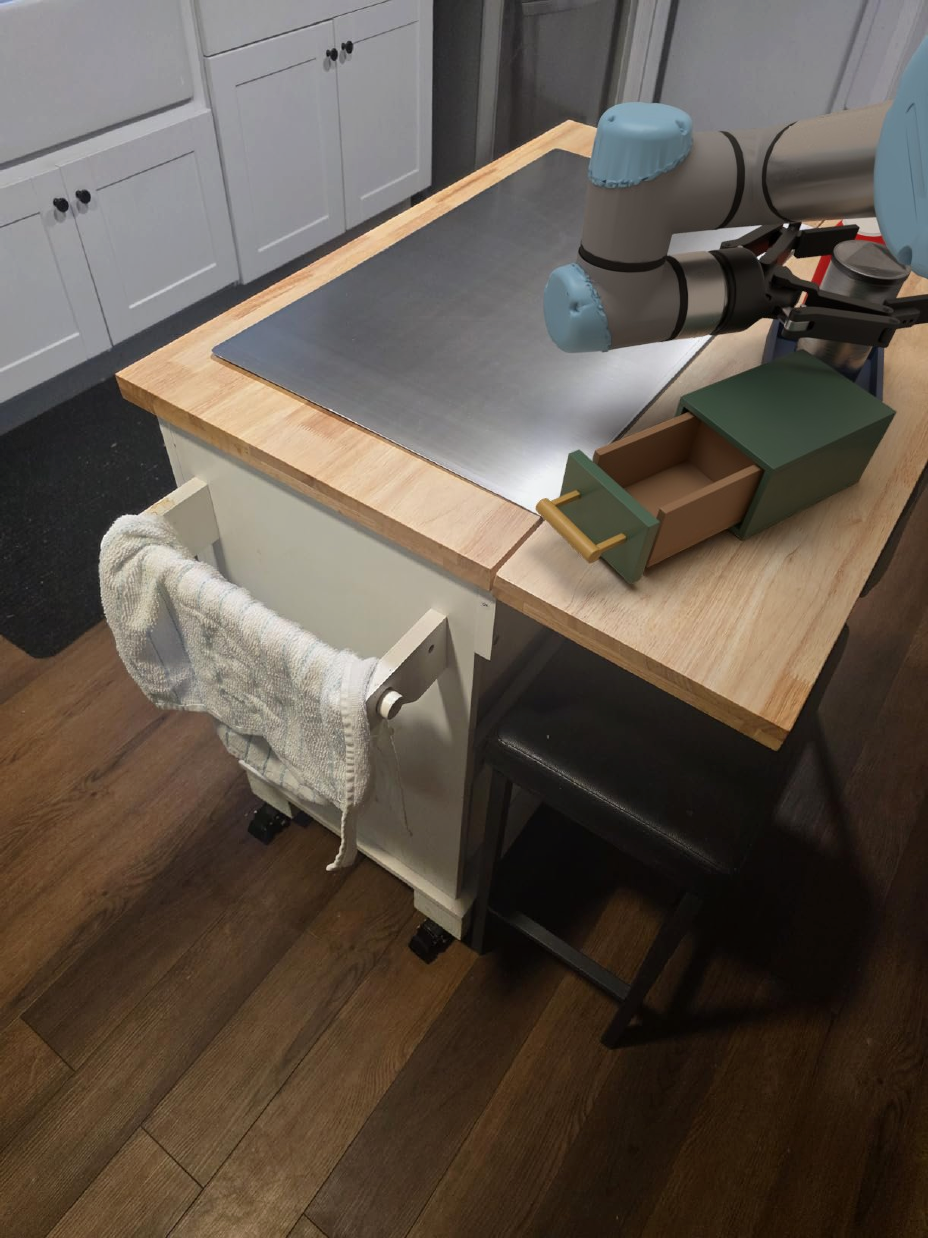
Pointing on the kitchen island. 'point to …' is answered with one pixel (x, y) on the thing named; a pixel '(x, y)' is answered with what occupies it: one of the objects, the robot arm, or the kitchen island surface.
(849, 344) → the silver tall cylinder
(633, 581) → the drawer
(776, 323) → the tray
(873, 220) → the beverage can
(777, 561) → the kitchen island surface
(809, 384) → the cabinet
